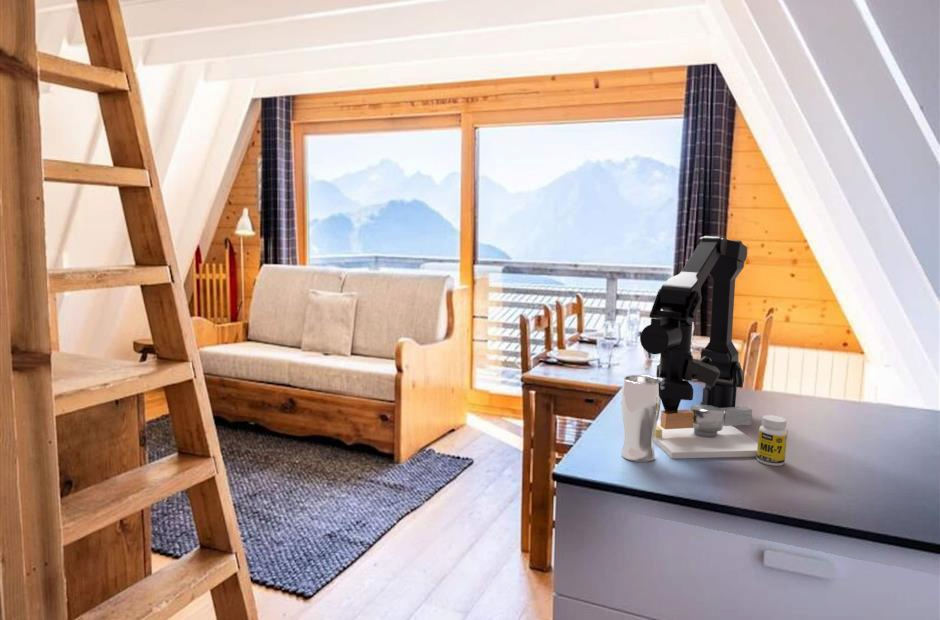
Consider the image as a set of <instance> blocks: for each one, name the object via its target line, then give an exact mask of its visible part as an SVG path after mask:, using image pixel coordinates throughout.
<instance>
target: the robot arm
mask: <svg viewBox="0 0 940 620" xmlns="http://www.w3.org/2000/svg"><path fill="white" fill-rule="evenodd" d="M747 257H748V247H747V245H745V244H743V241H742V240H737V239H736V240H735V239H734V240H733V239H731V240H730V239H727V238H726V237H723V236H714V235H712V236H710V235H704V236H700V237H699V239H698V243H697V247H696V248H695V249H694V251H693V253H692V254H691V255H690V257H689V259H688V260H687V262H686V263H685V265H684V267H683V268H682V269H681V271H680V272H679V274H676V275H674V276H671V277H669V278H668V279H667V280H666V281H665V282H664V283H663V284H662V285H661V287H660V288H659V289H658V291H657V293H656V297H655V299H654V301H653V305H652V307H651V310H650V313H649V318H650V324H649V325H646V326H645V327H644V328H643V330H642V331H641V333H640V335H639V340H640V341H639V342H640V344H641V347H642V348H643V349H644V351H645V352H647V353H648V354H650V355H660V357H659V358H660V359H659V364H658V365H656V372H655V373H656V378H660V379H661V380H660V381H661V382H660V389H661V404H662V407H663V411H668V410H675V411H677V410H679V407H680V404H681V400H682V401H693V400H694V388H693V385H692V384H691V383H690V382H691V381H692V379H695V380H696V381H699V382H701V383H704V385H705V386H704V387H703V388H702V398H701V399H702V400H701V402H700V405H709V406H714V407H718V408H728V407H736V401H737V388H743V386H744V385H743V384H744V378H745V374H744V371H743V369H742V366H741V363H740V361H739V360H740V359H739V351H738V350H737V348H736V346H735V345H734V343H733V326H734V325H733V323H734V308H735V289H736V279H737V277H738V276H739V275H740V273H741V272H742V270H743V269H744V267H745V261H746V260H747ZM708 276H710V277H711V279H712V293H711V308H710V309H711V310H710V328H709V330H710V331H709V342H708V343H707V344H706V345H705V347H704V349H702V350H701V352H700V358H694V355H693V354H692V351H691V350H692V349H691V348H692V336H693V323H694V322H695V321H696V316H697V313H698V310H699V309H700V306H701V304H702V301H703V297H702V292H701V288H702V287H703V284H704V283H705V281H706V280H707V278H708Z"/></svg>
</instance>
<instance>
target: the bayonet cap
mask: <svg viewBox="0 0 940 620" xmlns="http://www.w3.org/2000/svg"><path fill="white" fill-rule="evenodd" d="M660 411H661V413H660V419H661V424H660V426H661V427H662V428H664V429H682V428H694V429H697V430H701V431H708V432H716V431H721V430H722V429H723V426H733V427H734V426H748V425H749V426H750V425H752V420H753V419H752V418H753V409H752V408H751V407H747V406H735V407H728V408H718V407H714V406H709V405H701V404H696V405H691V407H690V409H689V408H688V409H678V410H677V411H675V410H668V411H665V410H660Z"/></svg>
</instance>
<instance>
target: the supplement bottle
mask: <svg viewBox="0 0 940 620" xmlns="http://www.w3.org/2000/svg"><path fill="white" fill-rule="evenodd" d="M761 424H762V425H760V426H759V429H758V438H757V439H758V440H757V443H758V447H757V457H756V460H757V461H758V462H759V463H761V464H763V465H767V466H773V467H779V466H783V465H784V464H785V462H786V452H787V442H788V441H787V440H788V430H787V429H786V428H787V419H786V418H785V417H782V416H779V415H772V414H768V415H767V414H765V415H763V416H762V420H761Z"/></svg>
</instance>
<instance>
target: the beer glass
mask: <svg viewBox="0 0 940 620" xmlns="http://www.w3.org/2000/svg"><path fill="white" fill-rule="evenodd" d="M661 381H662V380H661V379H659V377H654V376H651V375H644V374H643V375H642V374H631V375H626V376H624V377H623V385H622V387H623V388H622V392H621V393H622V394H621V414H622V421H623V429H624V439H623V440H624V441H623V444H622V449H621V456H622V458H624V459H626V460H627V461H630V462H636V463H649V462H652V461H654V460H655V448H654V443H655V442H654V441H653V439H654V433H655V429H656V425H657V421H658V419H659V416H660V411H661V403H662V401H661V389H660V382H661Z"/></svg>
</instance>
